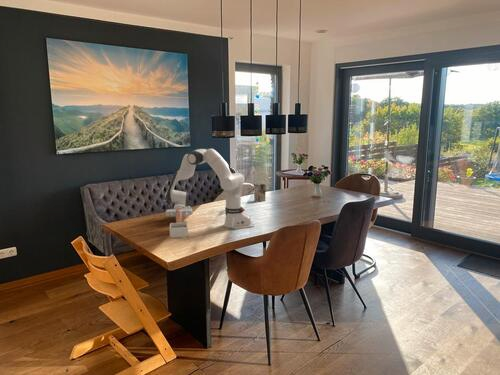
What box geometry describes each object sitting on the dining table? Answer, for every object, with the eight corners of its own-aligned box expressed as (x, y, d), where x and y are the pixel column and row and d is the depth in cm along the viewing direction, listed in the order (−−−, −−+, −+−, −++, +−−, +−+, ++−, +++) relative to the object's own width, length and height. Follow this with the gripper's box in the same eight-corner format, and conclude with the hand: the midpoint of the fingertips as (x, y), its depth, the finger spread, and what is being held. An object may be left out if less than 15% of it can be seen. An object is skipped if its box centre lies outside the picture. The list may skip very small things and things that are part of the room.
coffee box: (261, 199, 370) (261, 183, 367) (265, 200, 365) (265, 184, 362) (253, 201, 365) (253, 184, 362) (258, 202, 360) (258, 185, 357)
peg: (182, 227, 282) (181, 209, 279) (182, 229, 278) (181, 210, 275) (176, 228, 281) (175, 209, 278) (176, 229, 277) (175, 211, 274)
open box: (187, 231, 273) (187, 222, 272) (187, 236, 261) (187, 227, 260) (170, 232, 271) (170, 223, 270) (170, 237, 259) (169, 228, 258)
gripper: (165, 207, 297) (164, 211, 283) (192, 205, 300) (192, 210, 287) (165, 214, 298) (165, 219, 285) (192, 213, 301) (192, 218, 288)
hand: (179, 214), depth 286 cm, fingers open, 8 cm apart
